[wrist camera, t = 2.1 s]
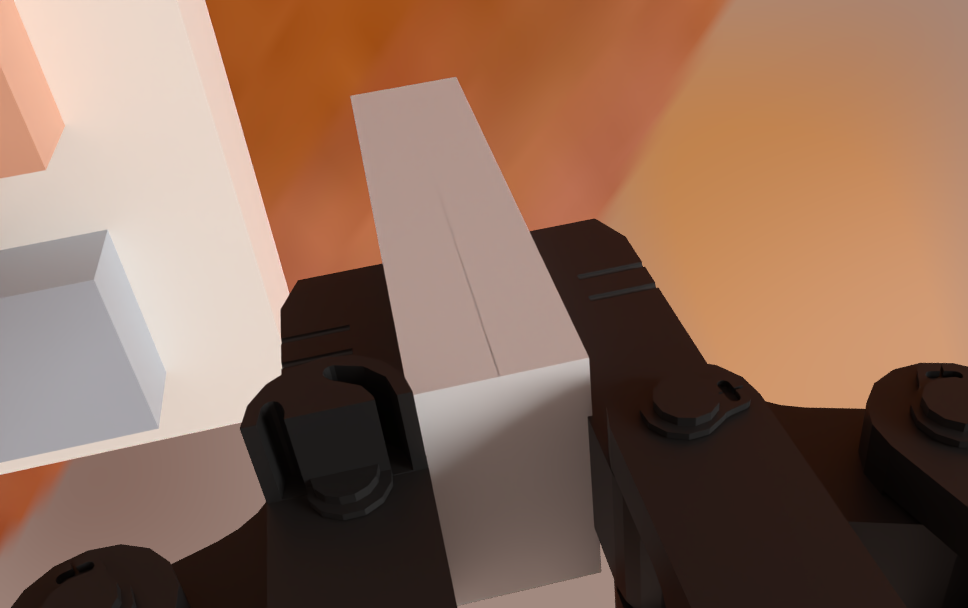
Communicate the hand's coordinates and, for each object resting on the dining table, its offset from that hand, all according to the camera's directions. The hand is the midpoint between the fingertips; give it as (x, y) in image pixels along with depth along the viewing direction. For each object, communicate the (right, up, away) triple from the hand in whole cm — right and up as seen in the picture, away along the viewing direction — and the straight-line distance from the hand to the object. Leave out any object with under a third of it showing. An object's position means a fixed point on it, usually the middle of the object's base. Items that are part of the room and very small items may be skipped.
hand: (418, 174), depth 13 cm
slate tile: (-11, -2, +12) cm, 17 cm away
